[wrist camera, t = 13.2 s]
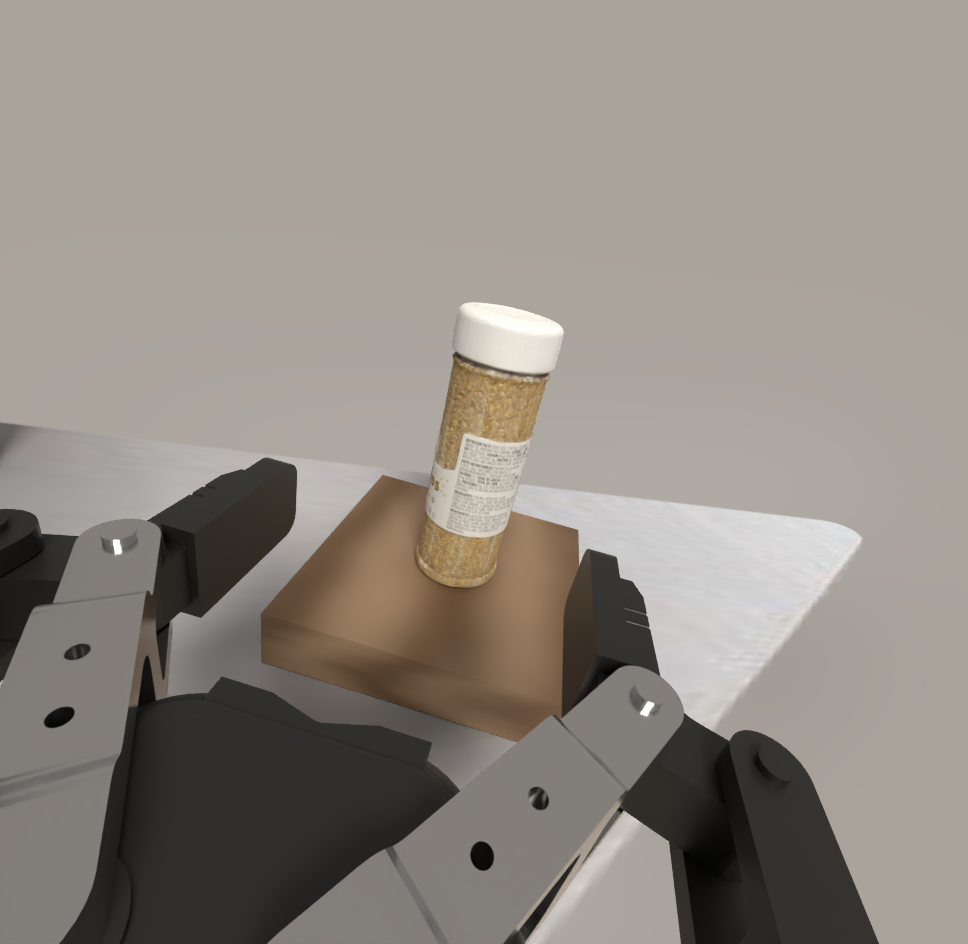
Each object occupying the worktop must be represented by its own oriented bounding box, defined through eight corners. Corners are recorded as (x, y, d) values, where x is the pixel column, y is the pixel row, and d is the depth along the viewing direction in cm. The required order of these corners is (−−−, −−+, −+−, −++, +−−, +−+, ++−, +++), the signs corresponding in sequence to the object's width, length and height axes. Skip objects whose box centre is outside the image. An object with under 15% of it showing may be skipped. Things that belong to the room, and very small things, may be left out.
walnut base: (261, 662, 21) (261, 613, 19) (378, 510, 33) (382, 475, 32) (561, 755, 20) (582, 711, 19) (565, 564, 32) (578, 530, 31)
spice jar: (418, 533, 27) (460, 294, 21) (494, 545, 27) (557, 315, 21) (408, 586, 23) (458, 308, 17) (498, 599, 23) (576, 334, 17)
